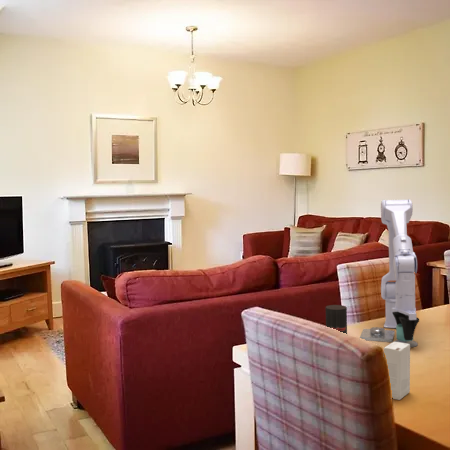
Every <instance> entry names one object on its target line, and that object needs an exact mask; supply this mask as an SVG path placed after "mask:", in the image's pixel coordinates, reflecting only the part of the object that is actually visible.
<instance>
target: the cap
mask: <svg viewBox="0 0 450 450" xmlns="http://www.w3.org/2000/svg"><path fill="white" fill-rule="evenodd" d="M395 329H396V331H395V332H396V339H395V340H400V341H414V338H413V339H412V340H405V339H404V333H403V327H402V324H398V325H396V328H395Z"/></svg>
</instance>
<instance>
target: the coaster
mask: <svg viewBox="0 0 450 450" xmlns="http://www.w3.org/2000/svg"><path fill="white" fill-rule="evenodd" d="M393 342H401V343H407V344H410V348H416V347H418V344H419V343H418V342H417V341H415V340H412V341H400V340H397V339H395V340H393Z"/></svg>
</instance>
